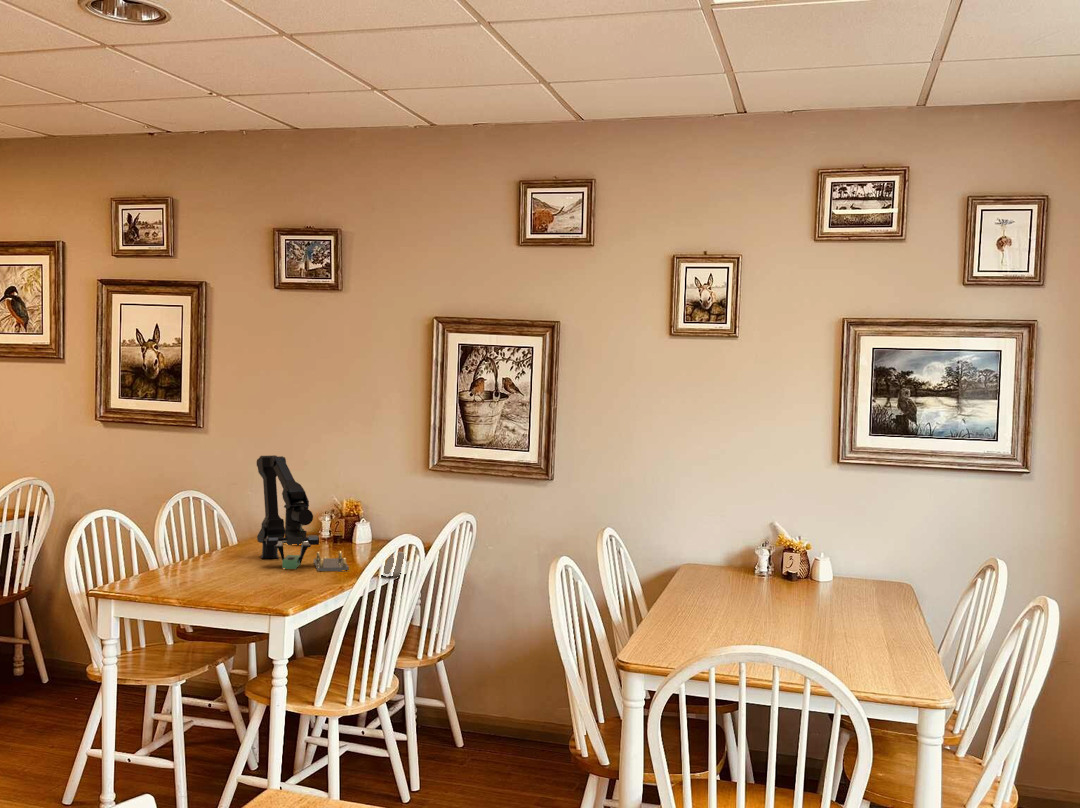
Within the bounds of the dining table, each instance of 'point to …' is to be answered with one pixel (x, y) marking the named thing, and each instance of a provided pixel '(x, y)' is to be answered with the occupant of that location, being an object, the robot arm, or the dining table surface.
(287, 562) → the board
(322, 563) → the chassis
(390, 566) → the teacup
